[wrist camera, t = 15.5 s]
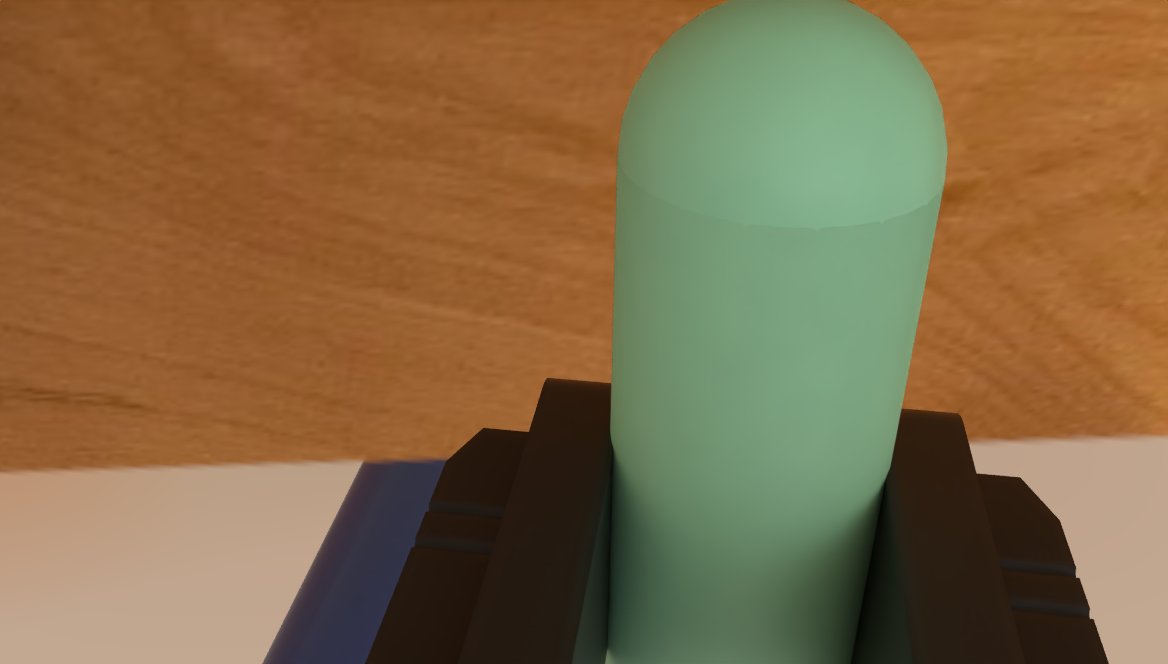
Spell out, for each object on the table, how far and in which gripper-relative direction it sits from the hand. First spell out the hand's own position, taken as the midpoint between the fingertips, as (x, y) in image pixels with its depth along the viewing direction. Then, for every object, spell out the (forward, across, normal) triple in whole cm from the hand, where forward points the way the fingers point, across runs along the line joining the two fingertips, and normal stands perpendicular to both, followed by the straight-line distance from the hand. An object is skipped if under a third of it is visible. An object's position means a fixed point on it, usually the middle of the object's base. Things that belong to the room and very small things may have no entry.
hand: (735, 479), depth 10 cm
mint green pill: (0, 0, 0) cm, 0 cm away
